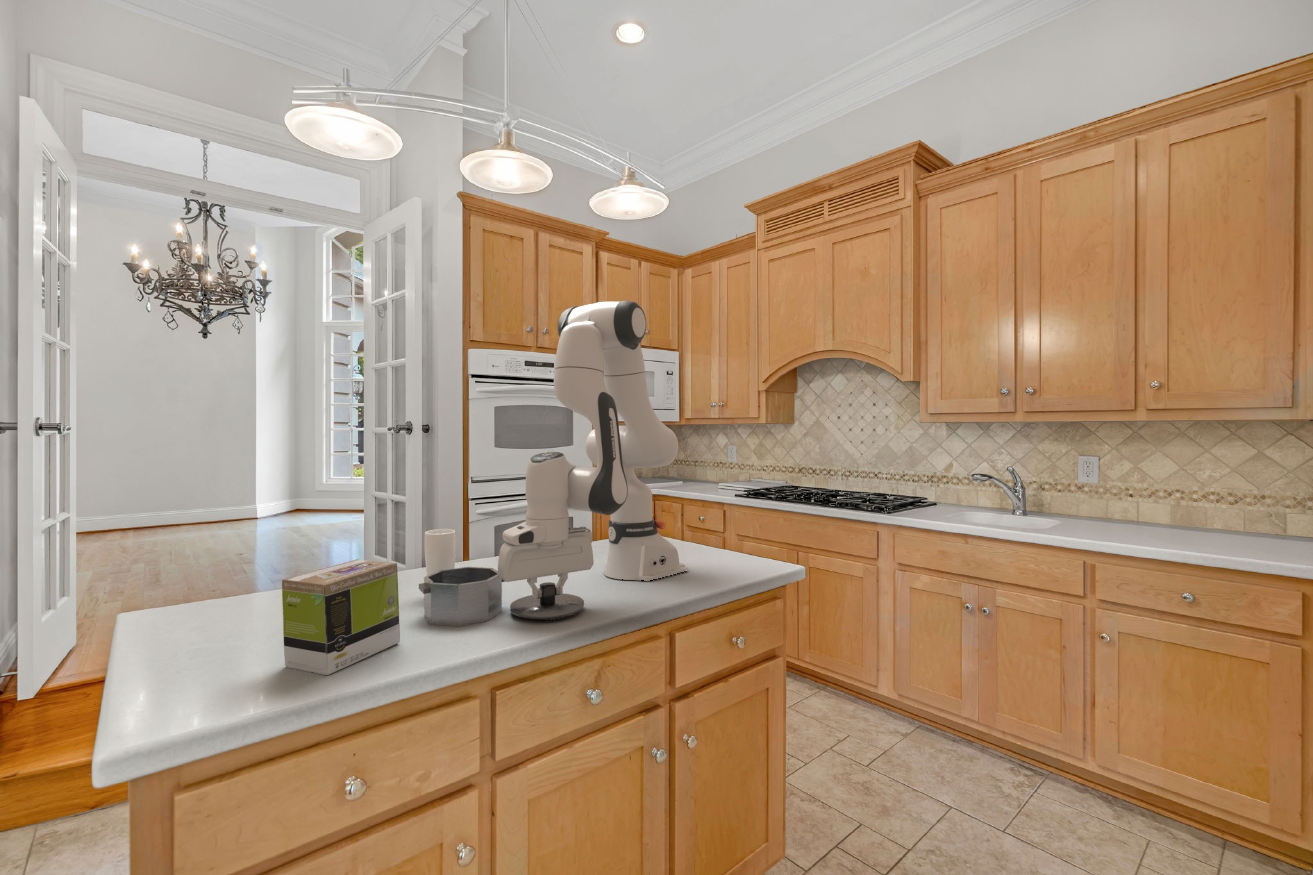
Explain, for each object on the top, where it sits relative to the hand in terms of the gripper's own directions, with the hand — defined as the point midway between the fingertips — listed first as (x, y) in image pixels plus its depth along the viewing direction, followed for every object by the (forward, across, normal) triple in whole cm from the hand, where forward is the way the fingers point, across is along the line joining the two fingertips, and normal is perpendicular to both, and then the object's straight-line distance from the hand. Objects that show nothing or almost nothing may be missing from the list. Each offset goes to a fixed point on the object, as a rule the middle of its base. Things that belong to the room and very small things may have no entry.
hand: (547, 596), depth 123 cm
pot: (+3, +15, -8) cm, 18 cm away
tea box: (+4, +38, +2) cm, 38 cm away
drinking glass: (+4, +16, -24) cm, 29 cm away
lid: (+4, 0, 0) cm, 4 cm away
